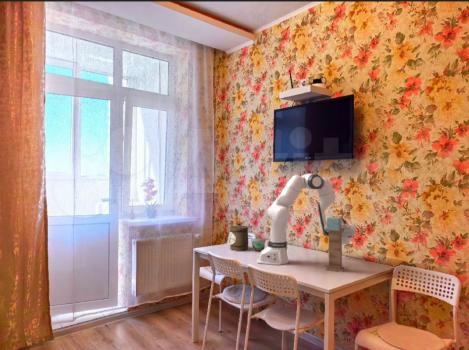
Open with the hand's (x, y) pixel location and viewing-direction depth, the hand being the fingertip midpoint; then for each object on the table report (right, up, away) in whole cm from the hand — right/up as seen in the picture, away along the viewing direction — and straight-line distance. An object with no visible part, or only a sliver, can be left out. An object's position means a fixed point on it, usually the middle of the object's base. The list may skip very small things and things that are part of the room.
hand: (338, 224), depth 218 cm
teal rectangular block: (-3, -2, -6) cm, 7 cm away
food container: (-48, -28, +43) cm, 71 cm away
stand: (-4, -28, -9) cm, 29 cm away
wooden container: (-64, -28, +51) cm, 87 cm away
